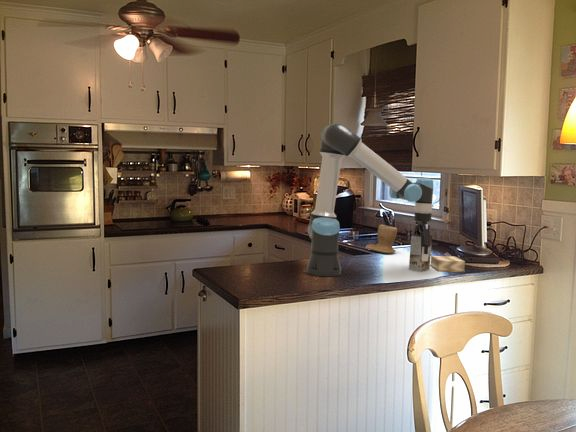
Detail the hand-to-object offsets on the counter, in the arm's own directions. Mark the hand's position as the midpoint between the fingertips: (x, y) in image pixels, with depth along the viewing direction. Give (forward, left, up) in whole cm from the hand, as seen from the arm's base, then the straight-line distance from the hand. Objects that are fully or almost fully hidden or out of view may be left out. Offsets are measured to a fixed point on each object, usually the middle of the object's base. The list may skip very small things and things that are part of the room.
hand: (420, 258), depth 255 cm
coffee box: (0, 0, -6) cm, 6 cm away
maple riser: (+14, +3, -5) cm, 15 cm away
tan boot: (-8, +44, -6) cm, 45 cm away
